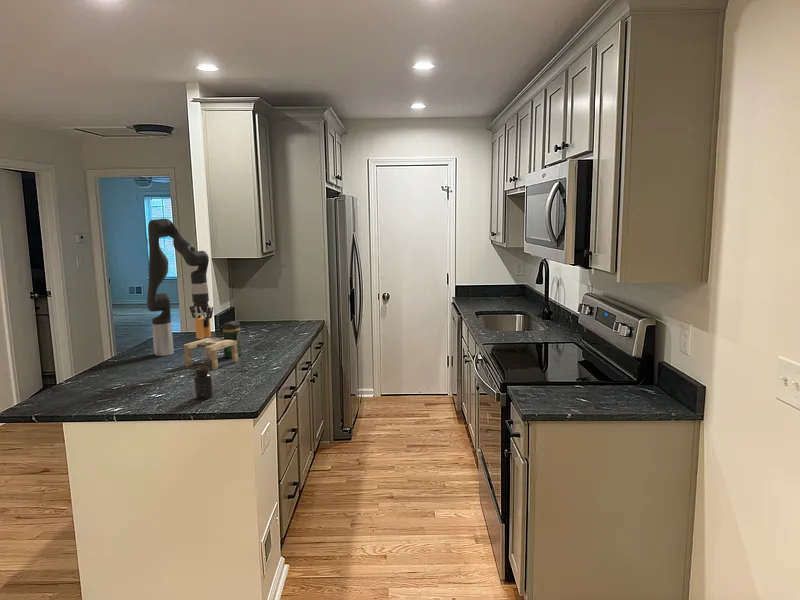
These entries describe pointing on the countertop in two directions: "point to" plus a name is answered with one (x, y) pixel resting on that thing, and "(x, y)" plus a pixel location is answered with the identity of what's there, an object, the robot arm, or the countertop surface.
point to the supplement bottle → (203, 383)
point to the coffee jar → (232, 337)
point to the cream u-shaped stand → (211, 350)
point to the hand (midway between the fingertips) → (203, 326)
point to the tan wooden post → (202, 329)
